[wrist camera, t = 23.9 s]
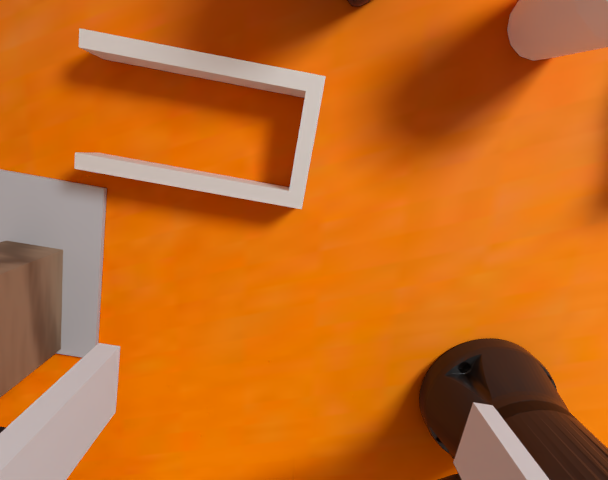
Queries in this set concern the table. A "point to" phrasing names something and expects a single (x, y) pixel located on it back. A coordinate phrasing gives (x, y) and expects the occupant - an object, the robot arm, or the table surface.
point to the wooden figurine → (358, 2)
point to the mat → (62, 244)
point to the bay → (222, 72)
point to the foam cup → (557, 27)
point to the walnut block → (28, 309)
